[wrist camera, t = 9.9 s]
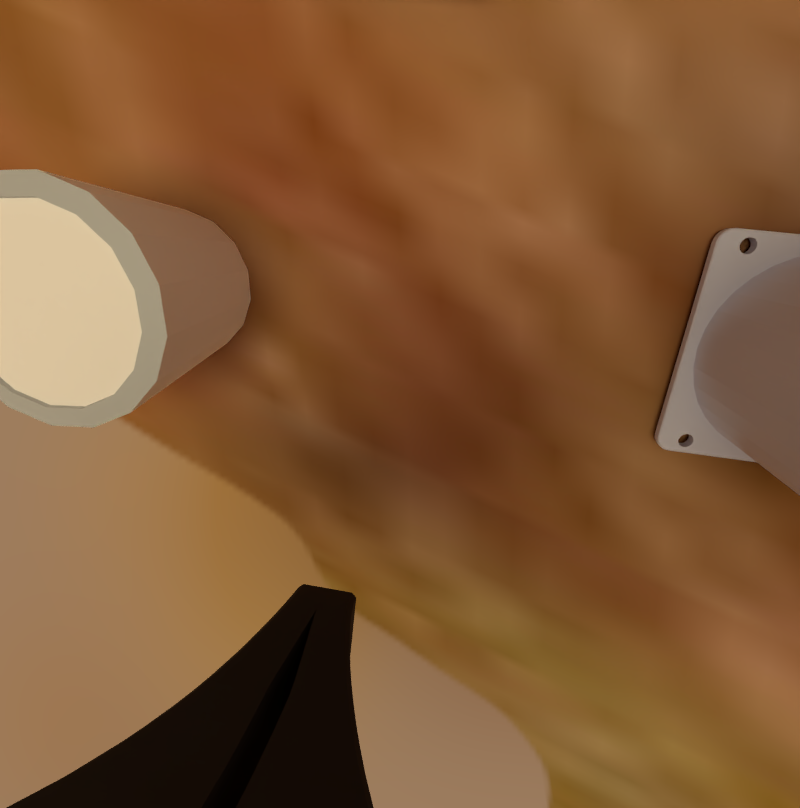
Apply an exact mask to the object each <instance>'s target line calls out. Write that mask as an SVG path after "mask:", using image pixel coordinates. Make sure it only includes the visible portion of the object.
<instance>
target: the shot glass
mask: <svg viewBox="0 0 800 808" xmlns="http://www.w3.org/2000/svg"><path fill="white" fill-rule="evenodd" d="M250 301H251V295H250V284H249V274H248V269H247V267H246V265H245V263H244V261H243V259H242V257H241V255H240V253H239V251H238V248H237V246H236V244H235V243H234V242H233V241H232V240H231V239H230V238H229V237H228V236H227V235H226V234H225V233H224V232H223V231H222V230H221V229H220V228H219V227H218V226H217V225H216V224H215V223H214V222H213V221H211V220H209V219H206V218H204V217H202V216H200V215H197V214H195V213H193V212H190V211H188V210H186V209H182V208H178V207H175V206H171V205H167V204H163V203H160V202H156V201H152V200H149V199H145V198H141V197H138V196H134V195H130V194H126V193H123V192H119V191H115V190H112V189H108V188H104V187H101V186H97V185H93V184H89V183H86V182H82V181H78V180H75V179H71V178H67V177H64V176H60V175H56V174H52V173H49V172H45V171H41V170H38V169H33V170H0V400H1V401H2V402H3V403H4V404H5V405H7V406H8V407H10V408H12V409H14V410H17V411H19V412H21V413H24V414H26V415H28V416H31V417H33V418H35V419H38V420H40V421H42V422H45V423H47V424H49V425H54V426H74V427H96V426H99V425H101V424H104V423H106V422H108V421H111V420H113V419H116V418H118V417H121V416H123V415H126V414H128V413H131V412H132V411H133V410H135V409H136V408H138V407H139V406H140V405H142V404H143V403H145V402H146V401H147V400H149V399H150V398H152V397H153V396H154V395H156V394H157V393H159V392H160V391H161V390H163V389H164V388H166V387H167V386H168V385H170V384H171V383H173V382H174V381H175V380H177V379H178V378H180V377H181V376H182V375H184V374H185V373H187V372H188V371H189V370H191V369H192V368H194V367H195V366H196V365H198V364H199V363H201V362H202V361H203V360H205V359H206V358H208V357H209V356H210V355H212V354H213V353H215V352H216V351H217V350H219V349H220V348H221V347H223V346H224V345H226V344H227V343H228V342H229V341H230V340H231V339H232V337H233V336H234V335H235V334H236V333H237V332H238V331H239V329H240V328H241V327H242V326H243V325H244V321H245V318H246V315H247V311H248V308H249V304H250Z"/></svg>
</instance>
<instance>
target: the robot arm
mask: <svg viewBox="0 0 800 808" xmlns="http://www.w3.org/2000/svg"><path fill="white" fill-rule="evenodd" d="M745 238H748V239H749V240H750V242H751V245H750V248H749V249H748V251H746V252H745V253H742V252H741V251H740V244H741V242H742V241H743V240H744V239H745ZM684 434H689V438H688V439H687V441H685V442H683V443H678V439H679V438H680V436H682V435H684ZM655 440H656V442H657V444H658V445H659V446H660V447H662V448H663V449H665V450H669V451H677V452H684V453H691V454H699V455H706V456H714V457H721V458H728V459H736V460H743V461H750V462H757V463H759V464H760V465H761V466H762V467H764V468H765V469H766V470H768V471H769V472H770V473H771V474H773V475H774V476H775V477H776V478H778V479H779V480H780V481H782V482H783V483H784V484H785V485H787V486H788V487H789V488H791V489H792V490H793V491H794V492H796V493H797V494H798V495H800V234H793V233H782V232H772V231H762V230H752V229H742V228H728V229H724V230H722V231H720V232H719V233H718V234H717V235H716V236H715V237H714V239H713V241H712V243H711V246H710V249H709V253H708V256H707V260H706V263H705V266H704V270H703V273H702V276H701V280H700V283H699V287H698V290H697V293H696V297H695V300H694V303H693V307H692V310H691V314H690V317H689V320H688V324H687V327H686V330H685V334H684V337H683V341H682V344H681V347H680V351H679V354H678V357H677V361H676V364H675V368H674V371H673V374H672V378H671V381H670V384H669V388H668V391H667V395H666V398H665V401H664V405H663V408H662V411H661V415H660V418H659V422H658V425H657V428H656V432H655ZM355 603H356V597H355V596H354V595H353V593H350V592H345V591H339V590H333V589H328V588H322V587H317V586H311V585H306V584H303V585H302V586H300V587H299V588H298V589H297V590H296V591H295V593H294V594H293V595H292V596H291V597H290V598H289V599H288V601H287V602H286V603H285V604H284V605H283V606H282V607H281V608H280V610H279V611H278V612H277V613H276V614H275V615H274V616H273V617H272V618H271V619H270V620H269V621H268V622H267V623H266V624H265V625H264V626H263V627H262V628H261V629H260V631H259V632H257V634H255V635H254V636H253V637H252V638H251V640H249V641H248V643H247V644H245V645H244V646H243V647H242V648H241V649H240V650H239V651H238V652H237V653H236V654H235V655H234V656H233V657H231V658H230V659H229V660H228V661H227V662H226V663H225V664H224V665H223V666H221V667H220V668H219V669H218V670H217V671H216V672H215V673H214V674H212V675H211V676H210V677H209V678H208V679H207V680H205V681H204V682H203V683H202V684H201V685H199V686H198V687H197V688H196V689H194V690H193V691H192V692H191V693H189V694H188V695H187V696H186V697H184V698H183V699H182V700H180V701H179V702H178V703H177V704H175V705H174V706H173V707H171V708H170V709H168V710H167V711H166V712H164V713H163V714H161V715H160V716H159V717H157V718H156V719H154V720H153V721H152V722H150V723H149V724H148V725H146V726H145V727H143V728H142V729H140V730H139V731H137V732H136V733H134V734H133V735H132V736H130V737H128V738H127V739H125V740H124V741H122V742H121V743H119V744H118V745H116V746H114V747H113V748H111V749H109V750H108V751H106V752H105V753H103V754H101V755H100V756H98V757H96V758H95V759H93V760H92V761H90V762H88V763H87V764H85V765H83V766H82V767H80V768H79V769H77V770H75V771H74V772H72V773H70V774H69V775H67V776H65V777H63V778H61V779H60V780H58V781H56V782H54V783H52V784H50V785H48V786H47V787H45V788H43V789H41V790H39V791H37V792H35V793H33V794H31V795H30V796H28V797H26V798H24V799H22V800H20V801H18V802H16V803H14V804H13V805H11V806H9V807H7V808H373V804H372V800H371V796H370V792H369V788H368V784H367V780H366V775H365V771H364V765H363V760H362V755H361V750H360V745H359V739H358V733H357V727H356V720H355V713H354V705H353V695H352V686H351V672H350V652H351V642H352V632H353V622H354V613H355Z"/></svg>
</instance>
